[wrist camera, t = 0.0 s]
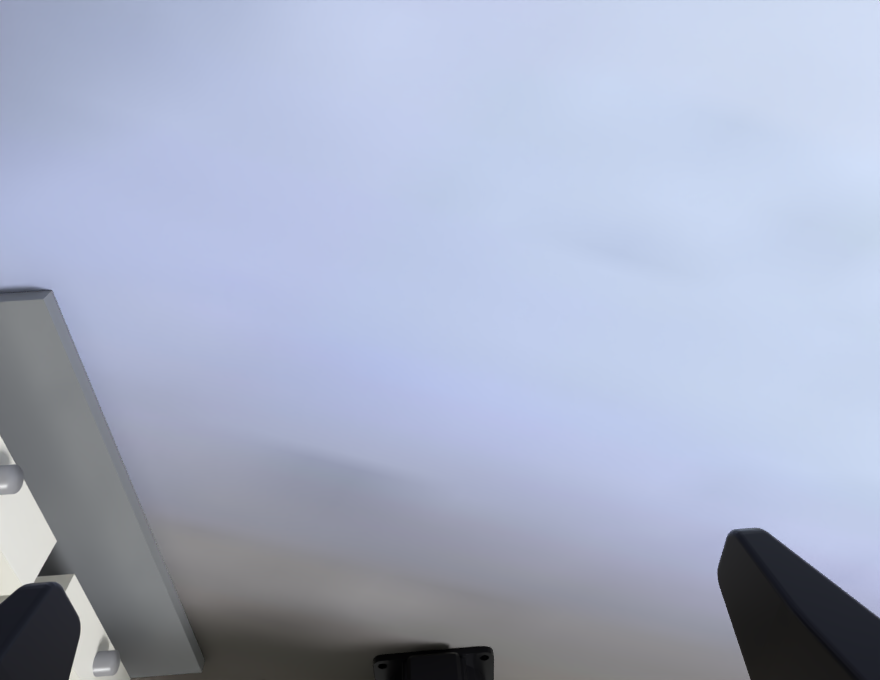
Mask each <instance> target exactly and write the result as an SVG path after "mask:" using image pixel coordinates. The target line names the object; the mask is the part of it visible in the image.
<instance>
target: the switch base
mask: <svg viewBox="0 0 880 680" xmlns="http://www.w3.org/2000/svg"><path fill="white" fill-rule="evenodd" d="M0 436H1V438H2V440H3V441H4V443H5V445H6V447H7V449H8V451H9V453H10V455H11V456H12V458H13V460H14V462H15V464H17V465H19V466H20V467H21V468H22V471H23V475H24V481H25V483H26V484H27V486H28V488H29V490H30V492H31V494H32V496H33V497H34V499H35V501H36V503H37V505H38V507H39V509H40V511H41V512H42V514H43V516H44V518H45V520H46V522H47V524H48V525H49V527H50V529H51V531H52V533H53V535H54V537H55V539H56V540H57V542H56V544H55V545H54V547H53V549H52V551H51V553H50V554H49V556H48V558H47V560H46V561H45V563H44V565H43V567H42V569H41V570H40V572H39V574H38V576H37V577H39V576H52V575H65V574H75V576H76V578H77V580H78V582H79V583H80V585H81V587H82V589H83V591H84V593H85V595H86V596H87V598H88V600H89V602H90V604H91V606H92V608H93V610H94V611H95V613H96V615H97V617H98V619H99V621H100V623H101V624H102V626H103V628H104V630H105V632H106V634H107V636H108V638H109V639H110V641H111V643H112V645H113V647H114V649H115V650H118V651H119V653H120V660H121V662H122V664H123V666H124V667H125V669H126V671H127V673H128V675H129V677H130V678H140V677H152V676H164V675H177V674H189V673H201V672H202V670H203V666H204V662H205V659H204V657H203V655H202V652H201V650H200V647H199V645H198V642H197V640H196V638H195V635H194V633H193V630H192V628H191V626H190V623H189V621H188V618H187V616H186V613H185V611H184V609H183V606H182V604H181V601H180V599H179V596H178V594H177V592H176V589H175V587H174V584H173V582H172V579H171V577H170V575H169V572H168V570H167V567H166V565H165V563H164V560H163V558H162V555H161V553H160V550H159V548H158V546H157V543H156V541H155V538H154V536H153V533H152V531H151V529H150V526H149V524H148V521H147V519H146V516H145V514H144V512H143V509H142V507H141V504H140V502H139V499H138V497H137V495H136V492H135V490H134V487H133V485H132V483H131V480H130V478H129V475H128V473H127V470H126V468H125V466H124V463H123V461H122V458H121V456H120V453H119V451H118V449H117V446H116V444H115V441H114V439H113V436H112V434H111V432H110V429H109V427H108V424H107V422H106V420H105V417H104V415H103V412H102V410H101V407H100V405H99V403H98V400H97V398H96V395H95V393H94V390H93V388H92V386H91V383H90V381H89V378H88V376H87V373H86V371H85V369H84V366H83V364H82V361H81V359H80V357H79V354H78V352H77V349H76V347H75V344H74V342H73V340H72V337H71V335H70V332H69V330H68V327H67V325H66V323H65V320H64V318H63V315H62V313H61V310H60V308H59V306H58V303H57V301H56V298H55V296H54V294H53V291H52V290H48V291H32V292H16V293H0Z"/></svg>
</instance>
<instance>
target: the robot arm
mask: <svg viewBox="0 0 880 680" xmlns="http://www.w3.org/2000/svg"><path fill="white" fill-rule="evenodd" d="M717 574H718V582H719V586H720V589H721V592H722V595H723V598H724V601H725V604H726V607H727V610H728V613H729V616H730V619H731V622H732V625H733V628H734V631H735V634H736V637H737V640H738V643H739V646H740V649H741V652H742V655H743V658H744V661H745V664H746V667H747V670H748V673H749V676H750V679H751V680H880V618H879V617H878V616H876V615H875V614H874V613H872V612H871V611H870V610H869V609H867V608H866V607H865V606H863V605H862V604H861V603H859V602H858V601H857V600H855V599H854V598H853V597H852V596H850V595H849V594H848V593H846V592H845V591H844V590H842V589H841V588H840V587H839V586H837V585H836V584H835V583H833V582H832V581H831V580H829V579H828V578H827V577H826V576H824V575H823V574H822V573H820V572H819V571H818V570H816V569H815V568H814V567H813V566H811V565H810V564H809V563H807V562H806V561H805V560H803V559H802V558H801V557H799V556H798V555H797V554H796V553H794V552H793V551H792V550H790V549H789V548H788V547H786V546H785V545H784V544H783V543H781V542H780V541H779V540H777V539H776V538H775V537H773V536H772V535H771V534H770V533H768V532H767V531H765V530H763V529H760V528H745V529H734V530H732V531H731V532H730V533H729V534H728V536H727V538H726V542H725V545H724V548H723V552H722V555H721V558H720V562H719V565H718V573H717ZM80 632H81V623H80V619H79V616H78V614H77V612H76V610H75V609H74V607H73V605H72V603H71V602H70V600H69V598H68V596H67V594H66V593H65V591H64V589H63V587H62V586H61V585H60V584H59V583H57V582H52V581H51V582H38V583H29V584H25V585H23V586H21V587H19V588H18V589H17V590H15V591H14V592H13V593H12V594H11V595H10V596H8V597H7V598H6V599H5V600H4V601H3V602H2V603H0V680H69V677H70V673H71V669H72V666H73V662H74V658H75V654H76V650H77V646H78V642H79V638H80ZM373 668H374V674H375V680H494V655H493V650H492V648H490V647H486V646H483V647H470V648H458V649H446V650H433V651H421V652H408V653H396V654H384V655H378V656H376V657H375V658H374V661H373Z"/></svg>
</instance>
